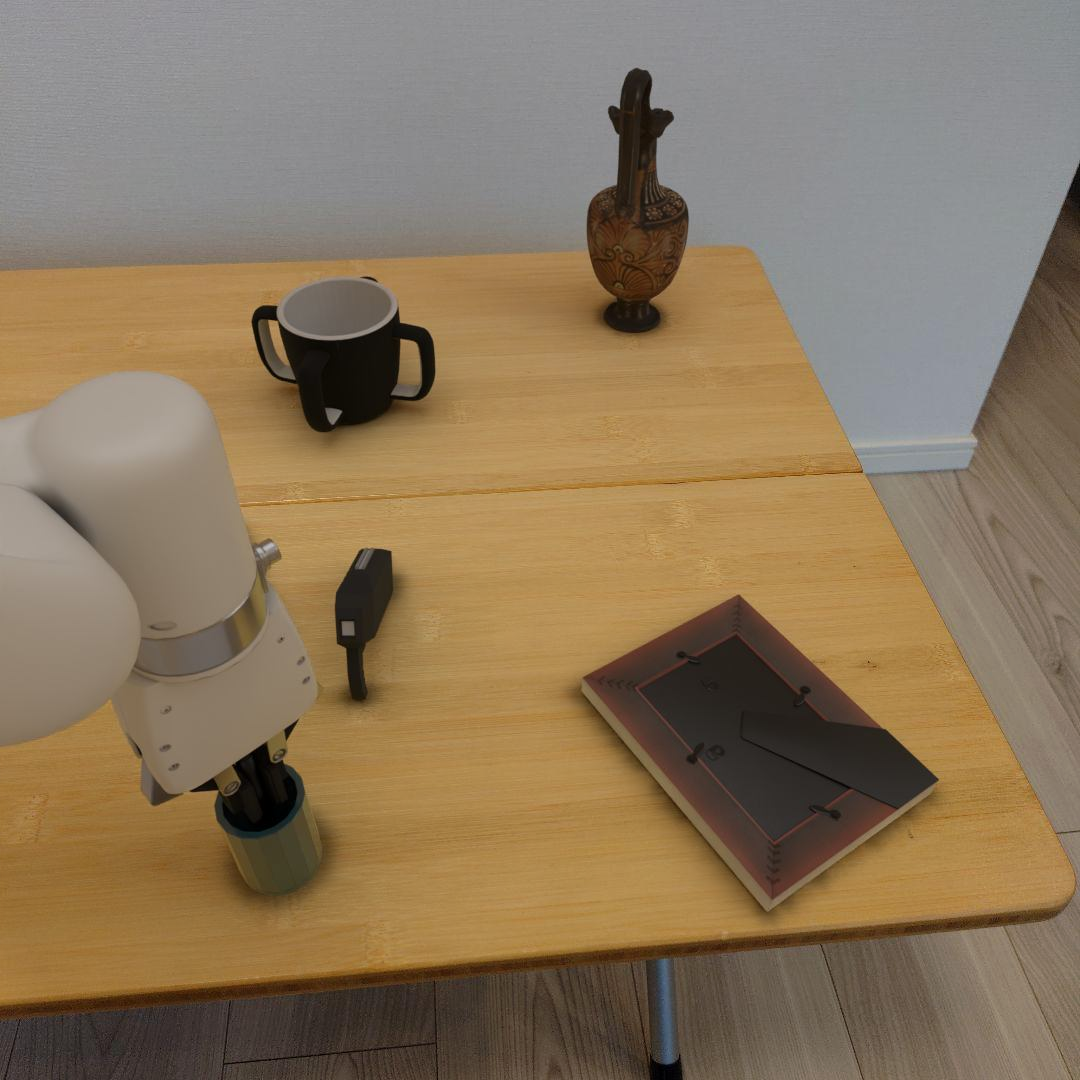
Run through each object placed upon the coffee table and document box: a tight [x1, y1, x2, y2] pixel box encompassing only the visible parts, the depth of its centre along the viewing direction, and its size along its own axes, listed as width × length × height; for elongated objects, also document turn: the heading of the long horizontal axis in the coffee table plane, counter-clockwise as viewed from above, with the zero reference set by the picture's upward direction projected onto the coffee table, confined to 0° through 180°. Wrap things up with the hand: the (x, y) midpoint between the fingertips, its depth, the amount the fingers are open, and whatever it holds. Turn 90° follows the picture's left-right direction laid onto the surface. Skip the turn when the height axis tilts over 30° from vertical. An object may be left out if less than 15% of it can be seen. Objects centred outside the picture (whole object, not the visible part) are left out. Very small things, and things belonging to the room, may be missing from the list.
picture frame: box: [581, 594, 940, 913], centre depth 73 cm, size 16×2×22 cm
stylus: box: [234, 751, 278, 831], centre depth 61 cm, size 1×1×13 cm
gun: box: [334, 547, 394, 700], centre depth 79 cm, size 3×16×10 cm, turn 0°
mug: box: [250, 275, 436, 434], centre depth 100 cm, size 16×16×12 cm
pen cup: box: [213, 763, 323, 897], centre depth 63 cm, size 6×6×8 cm
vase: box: [586, 67, 690, 333], centre depth 106 cm, size 12×12×30 cm
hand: (258, 795), depth 60 cm, fingers closed on stylus, 1 cm apart
